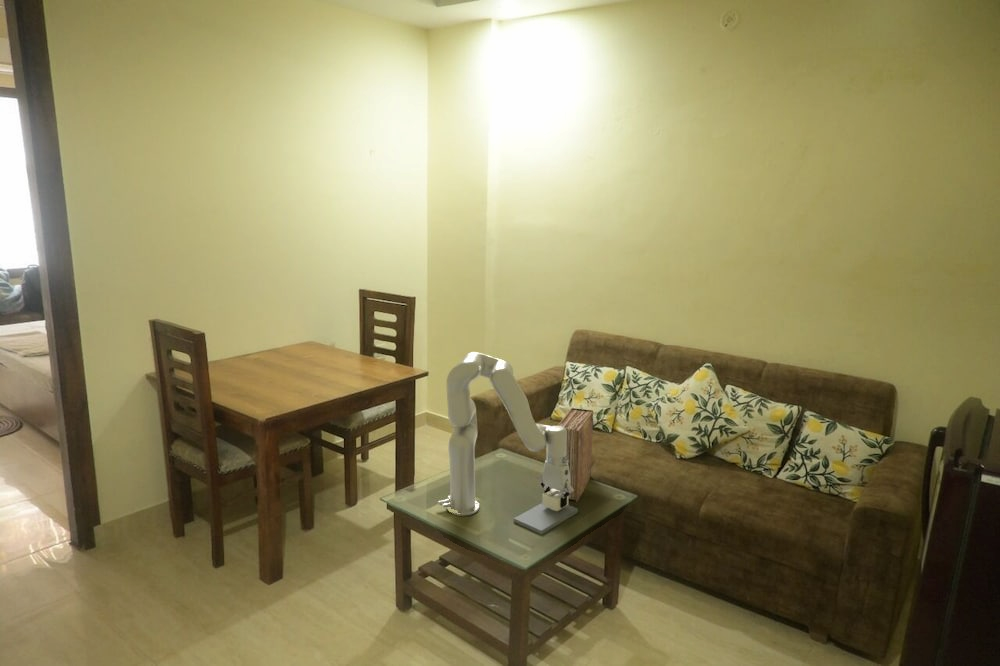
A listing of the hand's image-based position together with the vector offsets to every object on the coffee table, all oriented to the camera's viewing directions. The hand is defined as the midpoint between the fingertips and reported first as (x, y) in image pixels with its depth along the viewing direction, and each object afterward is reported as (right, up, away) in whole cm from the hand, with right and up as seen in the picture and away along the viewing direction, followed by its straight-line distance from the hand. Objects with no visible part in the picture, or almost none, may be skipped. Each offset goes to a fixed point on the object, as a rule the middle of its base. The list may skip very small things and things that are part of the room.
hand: (555, 502), depth 233 cm
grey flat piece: (-4, -4, -3) cm, 7 cm away
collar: (0, -1, 0) cm, 1 cm away
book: (+9, 0, +21) cm, 23 cm away
